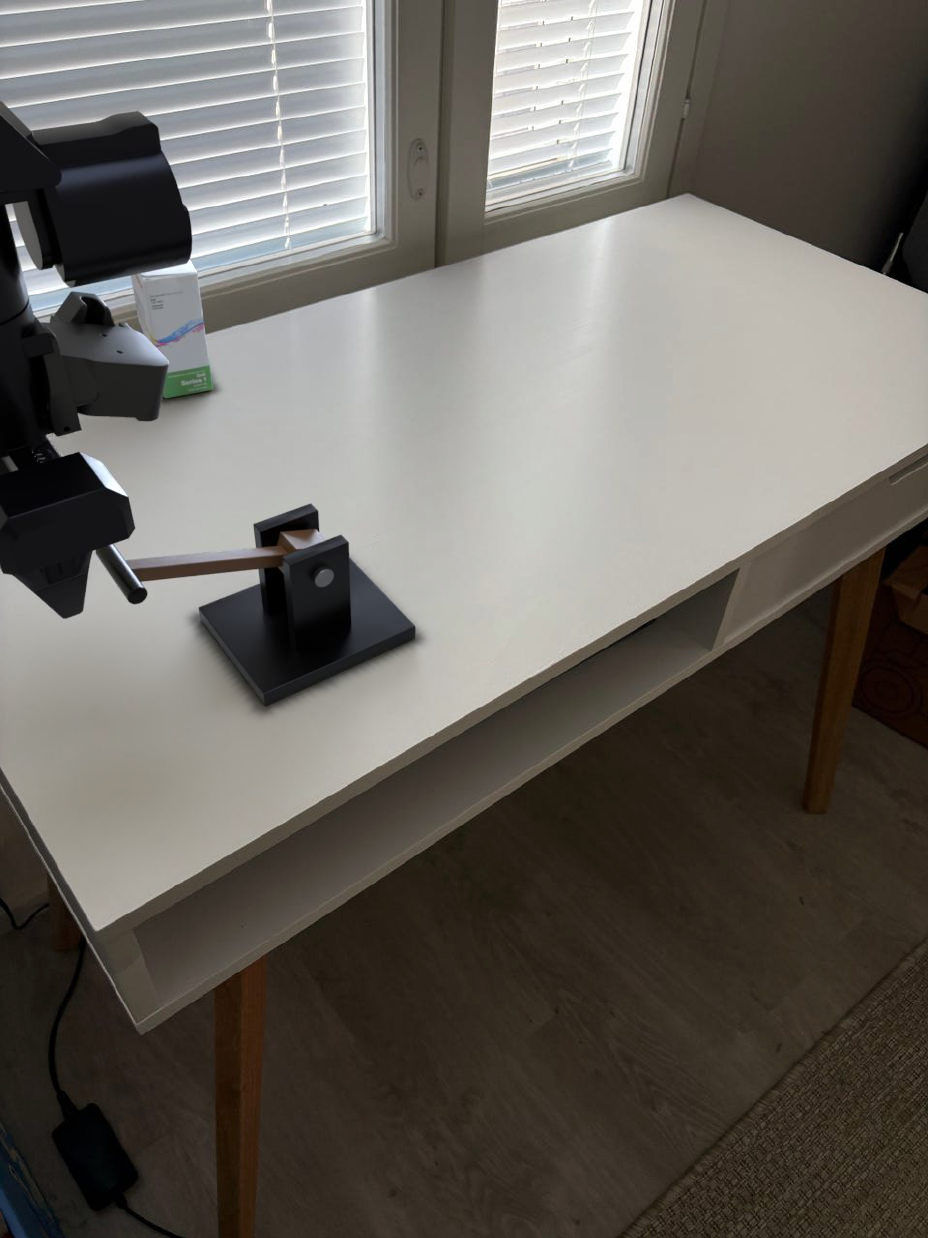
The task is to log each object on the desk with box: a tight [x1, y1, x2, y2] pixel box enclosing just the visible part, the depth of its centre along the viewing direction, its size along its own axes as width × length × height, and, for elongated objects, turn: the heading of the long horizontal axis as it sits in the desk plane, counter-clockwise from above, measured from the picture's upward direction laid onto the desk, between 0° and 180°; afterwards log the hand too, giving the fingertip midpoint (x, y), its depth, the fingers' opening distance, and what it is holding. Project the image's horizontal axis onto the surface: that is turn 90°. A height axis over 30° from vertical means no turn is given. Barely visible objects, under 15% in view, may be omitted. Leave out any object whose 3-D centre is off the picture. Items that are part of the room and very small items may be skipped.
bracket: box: [198, 503, 417, 706], centre depth 70 cm, size 12×10×9 cm
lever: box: [95, 529, 327, 605], centre depth 64 cm, size 14×5×2 cm, turn 127°
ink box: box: [130, 259, 214, 399], centre depth 93 cm, size 8×5×12 cm, turn 25°
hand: (42, 566), depth 56 cm, fingers open, 9 cm apart
